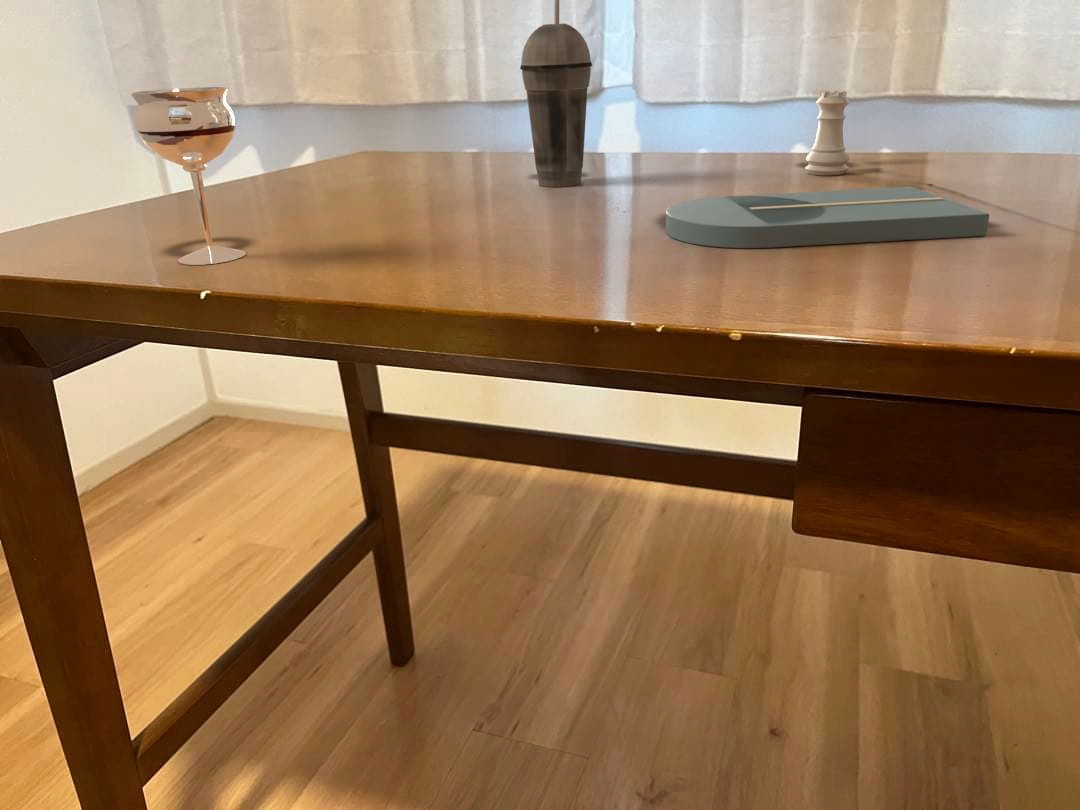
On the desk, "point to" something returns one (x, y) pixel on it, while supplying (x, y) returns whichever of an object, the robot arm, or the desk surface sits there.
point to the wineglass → (189, 144)
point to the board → (822, 218)
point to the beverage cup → (557, 100)
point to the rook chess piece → (829, 136)
